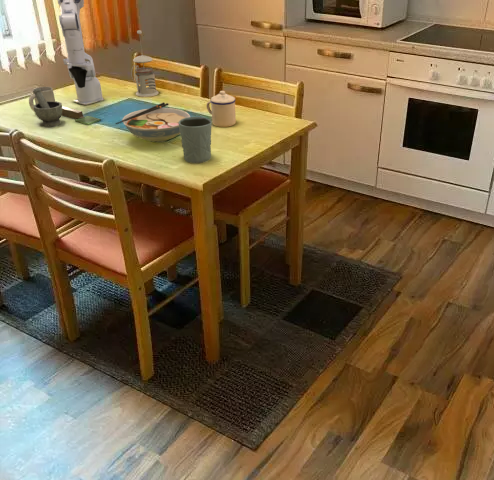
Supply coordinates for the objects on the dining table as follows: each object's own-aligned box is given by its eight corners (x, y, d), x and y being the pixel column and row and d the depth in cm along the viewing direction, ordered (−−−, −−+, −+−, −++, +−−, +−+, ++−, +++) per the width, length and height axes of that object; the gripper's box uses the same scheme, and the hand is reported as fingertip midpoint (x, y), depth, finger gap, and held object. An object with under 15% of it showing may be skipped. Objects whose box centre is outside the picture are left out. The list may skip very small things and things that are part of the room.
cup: (61, 112, 225) (56, 88, 220) (37, 118, 218) (31, 94, 213) (51, 108, 229) (45, 85, 224) (27, 114, 222) (21, 90, 217)
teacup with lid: (241, 121, 217) (240, 90, 210) (226, 128, 210) (225, 96, 204) (215, 116, 222) (213, 85, 215) (200, 123, 215) (198, 91, 209)
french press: (163, 92, 248) (156, 29, 234) (144, 99, 240) (136, 34, 226) (146, 88, 252) (139, 26, 238) (127, 95, 244) (117, 31, 230)
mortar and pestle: (70, 123, 214) (64, 90, 208) (48, 130, 208) (40, 96, 201) (52, 117, 220) (45, 84, 213) (30, 123, 214) (22, 90, 207)
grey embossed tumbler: (176, 161, 185) (172, 124, 178) (191, 150, 193) (188, 114, 186) (204, 166, 182) (201, 128, 175) (219, 154, 190) (217, 118, 183)
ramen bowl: (158, 157, 188) (155, 132, 183) (108, 143, 198) (104, 119, 193) (207, 134, 205) (205, 111, 201) (158, 122, 215) (156, 100, 211)
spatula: (55, 116, 221) (54, 108, 219) (68, 112, 225) (66, 104, 223) (88, 125, 213) (86, 117, 211) (100, 120, 217) (99, 113, 215)
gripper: (53, 48, 212) (61, 86, 220) (77, 54, 205) (84, 93, 212) (69, 44, 217) (76, 82, 224) (94, 50, 210) (100, 88, 217)
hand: (81, 87), depth 219 cm, fingers closed
